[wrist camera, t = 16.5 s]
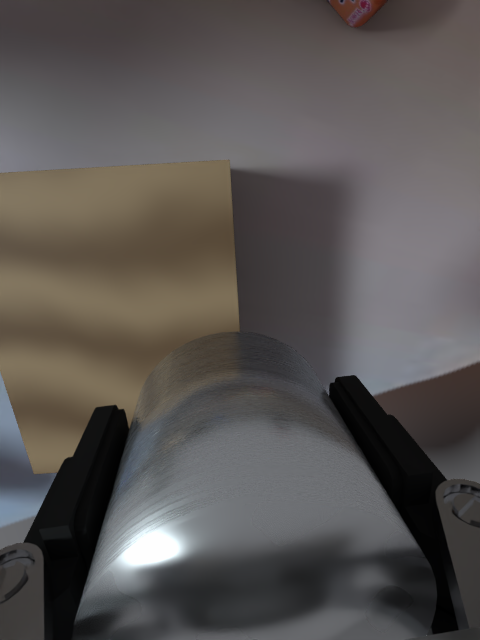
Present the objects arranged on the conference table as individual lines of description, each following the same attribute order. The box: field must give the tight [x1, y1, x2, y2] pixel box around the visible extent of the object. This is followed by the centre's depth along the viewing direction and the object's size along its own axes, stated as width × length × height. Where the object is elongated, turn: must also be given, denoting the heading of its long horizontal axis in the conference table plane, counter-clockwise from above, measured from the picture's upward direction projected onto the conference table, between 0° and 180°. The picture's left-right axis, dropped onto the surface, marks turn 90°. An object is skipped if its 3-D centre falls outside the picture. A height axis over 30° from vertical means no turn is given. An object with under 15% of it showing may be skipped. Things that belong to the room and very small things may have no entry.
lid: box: [0, 160, 240, 474], centre depth 25 cm, size 22×17×1 cm
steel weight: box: [72, 332, 437, 640], centre depth 9 cm, size 6×6×6 cm
